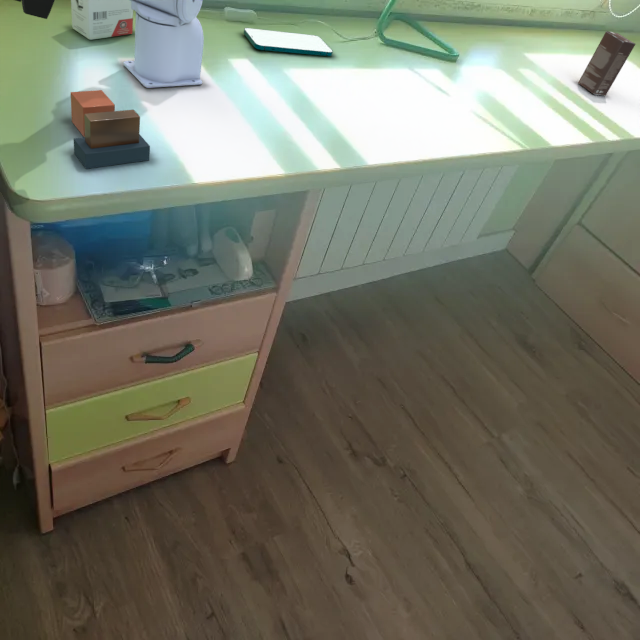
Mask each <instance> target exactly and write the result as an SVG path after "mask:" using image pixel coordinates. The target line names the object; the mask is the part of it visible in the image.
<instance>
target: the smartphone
mask: <svg viewBox="0 0 640 640" xmlns="http://www.w3.org/2000/svg"><path fill="white" fill-rule="evenodd" d="M243 35H244V37H246V39H247V41H249V42H250V44H251V45H252V47H254V48H255V49H257V50H258V51H259V50H260V51H269V52H280V53H281V52H282V53H290V54H291V53H292V54H300V55H301V54H302V55H313V56H323V57H332V56H333V53H334V51H333V49H332V48H331V47H330V46H329V45H328V44H327V43H326V42H325V41H324V40H323V39H322V38H321V36H318V35H316V34H306V33H298V32H288V31H279V30H270V29H261V28H252V27H245V28H243Z"/></svg>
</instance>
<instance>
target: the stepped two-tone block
mask: <svg viewBox="0 0 640 640" xmlns="http://www.w3.org/2000/svg"><path fill="white" fill-rule="evenodd" d="M84 121H85V137H84V136H81V137H75V138H73V153H74V155H75V156H76V158H77V159H78V160H79V161H80V163H81V164H82V166H83V167H84V168H85V169H86V170H87V169H96V168H102V167H109V166H117V165H123V164H124V165H125V164H132V163H139V162H145V161H150V154H151V153H150V152H151V145H150V144H149V143H148V142H147V141H146V139H144V137H143V136H142V135H141V134H140V130H141V115H139V114H138V112H137V111H136V110H134V109H127V110H126V109H125V110H124V109H123V110H115V111H111V112H99V113H88V114H84Z"/></svg>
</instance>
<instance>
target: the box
mask: <svg viewBox="0 0 640 640" xmlns="http://www.w3.org/2000/svg"><path fill="white" fill-rule="evenodd" d="M598 43H599V44H598V45H597V47H596V48H595V50H594V52H593V55H592V56H591V58H590V60H589V61H588V64H587V65H586V67H585V69H584V71H583V73H582V75H581V76H580V79H579V80H578V81H577V83H578V84H579V85H580V86H581V87H583V88H584V89H586V90H587V91H589V92H590V93H591V94H593V96H606V95H608V93H609V91H610V89H611V88H612V86H613V84H614V82H615V80H616V79H617V78H618V76H619V74H620V72H621V70H622V68H623V66H624V65H625V64H626V61H627V60H628V58H629V57H630V55H631V53H632V52H633V49H634V48H635V47H636V43H635V42H634V41H632V40H630V39H628V38H627V37H625V36H624V35H622V34H620V33H617V32H613V31H608V30H606V31H605V33H604V34H603V36H602V38H601V40H600V42H598Z"/></svg>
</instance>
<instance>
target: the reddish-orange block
mask: <svg viewBox="0 0 640 640" xmlns="http://www.w3.org/2000/svg"><path fill="white" fill-rule="evenodd" d="M70 111H71V112H70V113H71V114H70V115H71V123H72V124H73V125H74V127H75V128H76V129H77V130H78V132H79V133H80V134H81V135H82V137H85V121H84V114H88V113H99V112H111V111H116V105H115V103H114V102H113V101H112V100H111V99H110V98H109V96H108V95H107V94H106V93H105V91H103V90H102V89H98V90H97V89H96V90H81V91H70Z"/></svg>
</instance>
